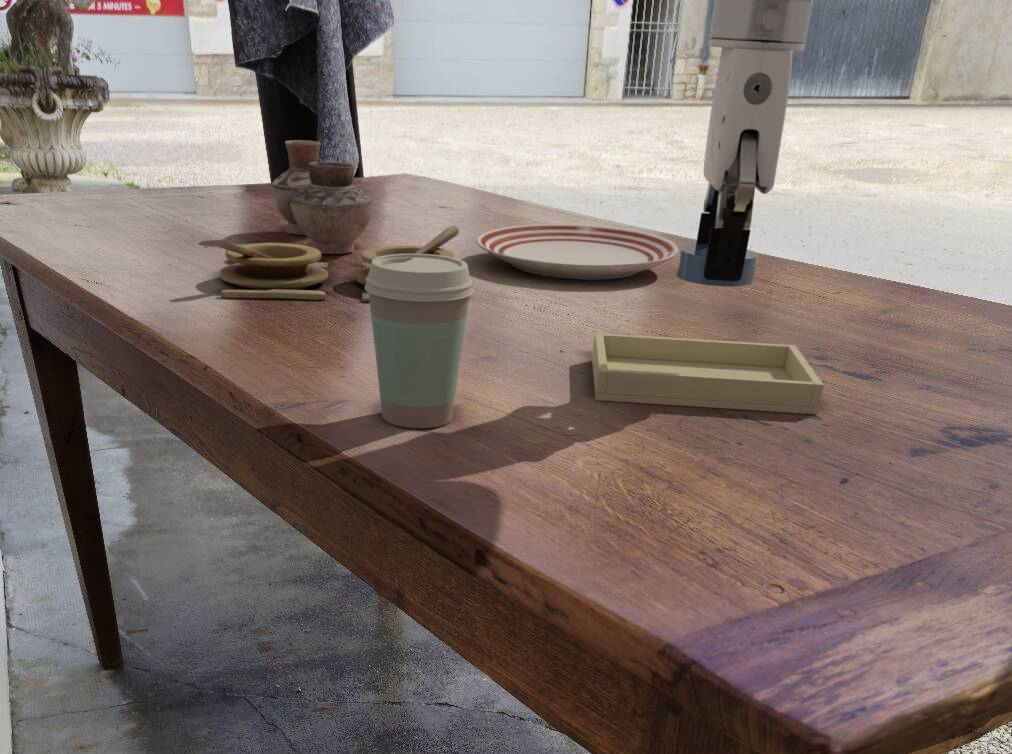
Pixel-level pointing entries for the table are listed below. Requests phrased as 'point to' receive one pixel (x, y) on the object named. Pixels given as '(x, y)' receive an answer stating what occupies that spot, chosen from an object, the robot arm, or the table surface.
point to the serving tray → (704, 374)
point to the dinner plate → (577, 250)
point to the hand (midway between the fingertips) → (716, 269)
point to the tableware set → (301, 267)
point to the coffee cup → (418, 334)
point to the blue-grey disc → (694, 264)
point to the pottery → (321, 199)
